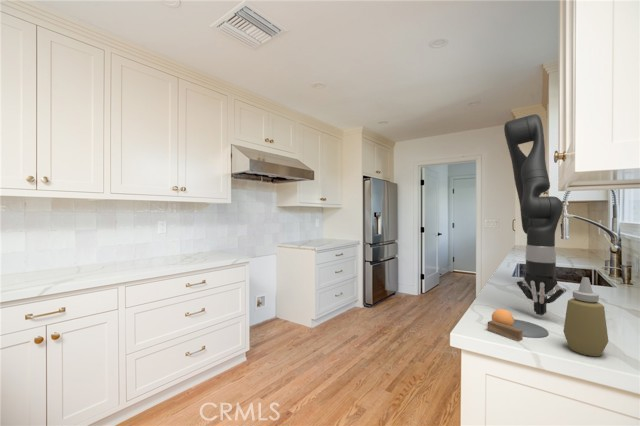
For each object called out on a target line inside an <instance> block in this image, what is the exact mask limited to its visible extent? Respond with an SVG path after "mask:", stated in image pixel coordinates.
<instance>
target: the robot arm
mask: <svg viewBox="0 0 640 426" xmlns="http://www.w3.org/2000/svg"><path fill="white" fill-rule="evenodd" d="M503 129H504V131H503V132H504V137H505V140H506V141H505V142H506V144H507V149H508V152H509V155H510V159H511V164H512V171H513V178H514V184H515V188H516V192H517V198H518V202H519V207H520V208H519V209H520V210H519V211H520V220H521V226H522V231H523V232H524V233H525V235H526V247H525V248H526V249H525V256H524V258H525V275H524V277H523V279H522V280H519V281H516V285H517V286H518V287H519V289H520V290H521V291H522V293H523V294H524V295H525V297H526V298H527V299H528V300H531V301H533V310H534V313H535V314H536V315H539V316H544V315H545V314H546V313H547V304H552V303H554V302H555V301H557V299H559V298H560V297H561V296H563V294H565V293H566V292H567V289H566V288H564V287H561V286H560V285H558V281H557V279H556V276H557V275H556V274H557V272H556V269H557V266H556V265H557V264H556V263H557V262H556V261H557V259H556V258H557V257H556V256H557V254H556V247H555V245H556V232H557V227H558V224H559V221H560V219H561V216H562V213H563V211H564V205H563V202H562V200H561V199H560V198H559V197H558V196H552V195H551V196H548V195H547V196H541V195H542V194H544V193H546V192H548V191H549V190H550V188H551V182H550V178H549V174H548V170H547V163H546V145H545V135H544V127H543V122H542V119H541V117H540V115H538V114H537V113H535V114H530V115H525V116H523V117H519V118H515V119H512V120H509V121H506V122H505V124H504V126H503ZM530 142H531V143H532V147H531V149H530V152H529V153H528V154H527V155H526V154H525V153H524V152H523V151H522V150H521V148H520V146H519V145H523V144H527V143H530ZM549 296H550V297H549Z"/></svg>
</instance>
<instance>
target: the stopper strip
mask: <svg viewBox="0 0 640 426" xmlns="http://www.w3.org/2000/svg"><path fill="white" fill-rule="evenodd" d="M487 331H488V332H489V333H490V332H491V333H493V334H496V335H499V336H502V337H505V338H508V339H510V340H514V341H515V342H520V341H523V330H520V329H517V328H514V327H511V326H507V325H504V324H501V323H498V322H495V321H492V319H491V320H488V321H487Z"/></svg>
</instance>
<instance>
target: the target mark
mask: <svg viewBox="0 0 640 426" xmlns="http://www.w3.org/2000/svg"><path fill="white" fill-rule="evenodd" d="M512 327H514V328H517V329H520V330H523V337H524V338H533V339H534V338H535V339H541V338H546V337H548V336H549V331H548V330H547V329H546V328H544V326H541V325H538V324H535V323H534V322H533V323H532V322H530V321H525V320H521V319H516V318H515V319H514V324H513V326H512Z"/></svg>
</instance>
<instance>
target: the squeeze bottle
mask: <svg viewBox="0 0 640 426" xmlns="http://www.w3.org/2000/svg"><path fill="white" fill-rule="evenodd" d="M599 297H600V295H599V293H596V292H594V290H593V287H592V284H591V281H590V277H585V276H583V277H581V281H580V283H579V287H578V289H577V290H576V289H575V290H572V297H571V298H570V299H568V300H567V303H566V310H565V311H566V312H565V318H564V325H563V334H564V335H563V336H564V337H565V340H566V343H567V346H568V347H569V349H570V350H572V351H574V352H576V353H579V354H582V355H585V356H589V357H590V356H591V357H602V355H603V353H604V352H605V349H606V347H607V345H608V343H609V336H608V335H609V334H608V327H607V320H606V319H607V317H606V311H605V306H604V305H603V304H602V303H601V302H599V301H600V298H599Z"/></svg>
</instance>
